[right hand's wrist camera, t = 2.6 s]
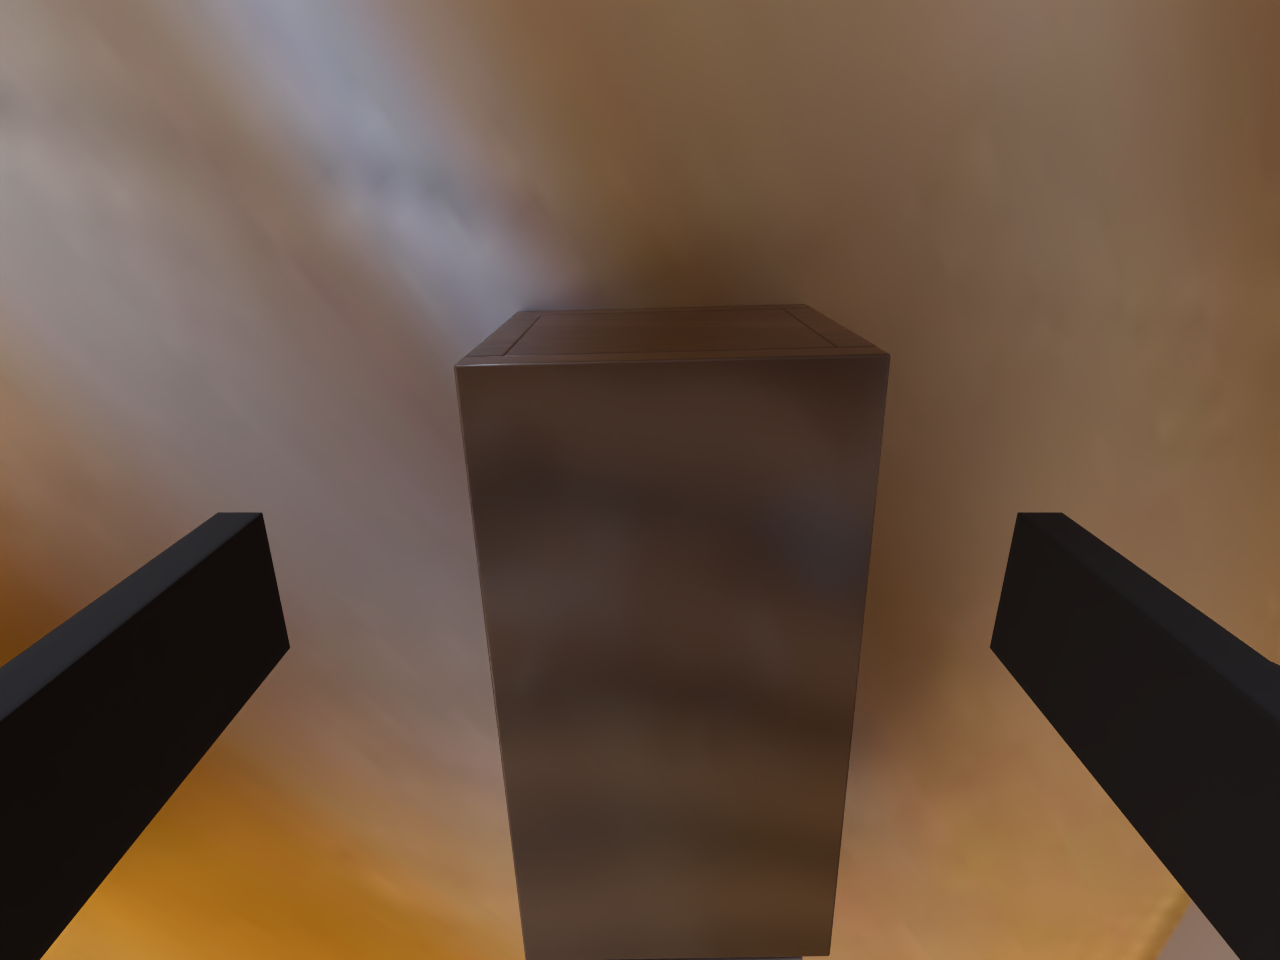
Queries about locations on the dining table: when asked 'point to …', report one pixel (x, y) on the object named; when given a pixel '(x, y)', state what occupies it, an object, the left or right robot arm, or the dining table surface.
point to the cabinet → (674, 617)
